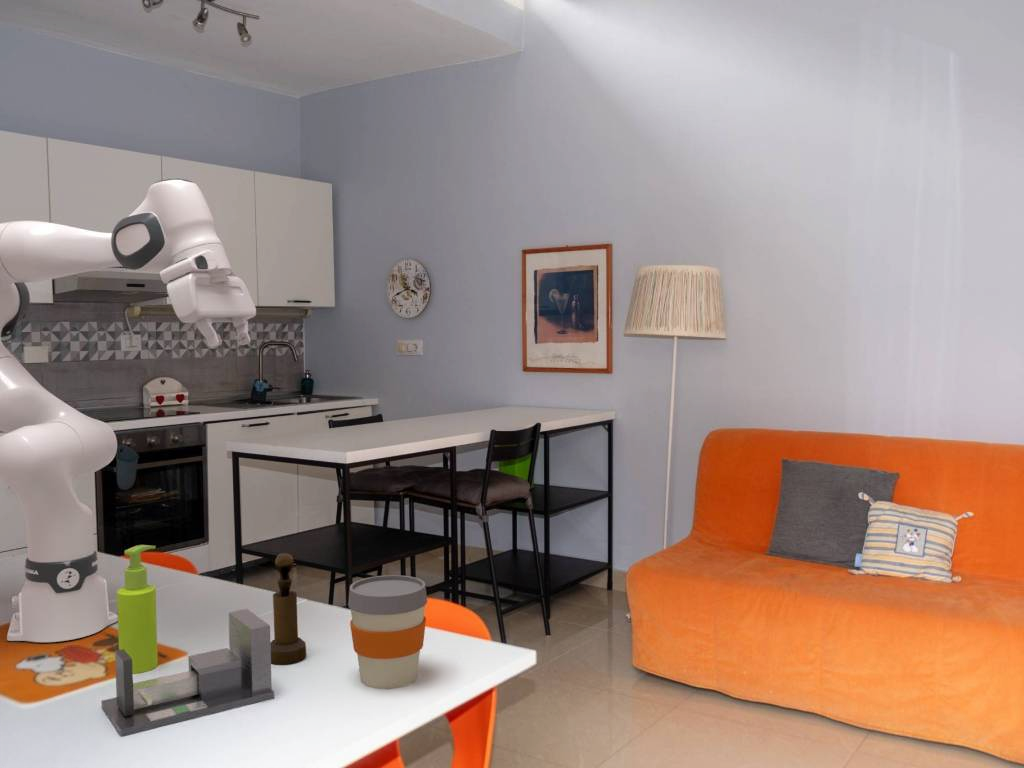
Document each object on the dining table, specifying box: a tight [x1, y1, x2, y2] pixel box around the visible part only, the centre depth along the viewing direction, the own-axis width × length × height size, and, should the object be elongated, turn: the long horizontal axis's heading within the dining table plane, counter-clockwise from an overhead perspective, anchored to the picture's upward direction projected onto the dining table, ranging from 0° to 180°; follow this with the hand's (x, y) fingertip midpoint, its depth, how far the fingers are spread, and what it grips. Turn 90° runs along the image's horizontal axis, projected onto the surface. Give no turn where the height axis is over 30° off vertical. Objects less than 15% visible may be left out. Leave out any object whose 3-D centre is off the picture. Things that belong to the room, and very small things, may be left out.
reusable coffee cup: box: [347, 574, 428, 689], centre depth 148 cm, size 12×12×15 cm
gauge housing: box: [101, 608, 275, 737], centre depth 138 cm, size 12×22×11 cm, turn 126°
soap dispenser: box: [116, 544, 159, 674], centre depth 153 cm, size 6×7×20 cm
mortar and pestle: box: [270, 552, 307, 666], centre depth 157 cm, size 7×6×18 cm
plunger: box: [114, 649, 199, 716], centre depth 135 cm, size 8×11×8 cm
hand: (230, 344), depth 158 cm, fingers open, 8 cm apart
